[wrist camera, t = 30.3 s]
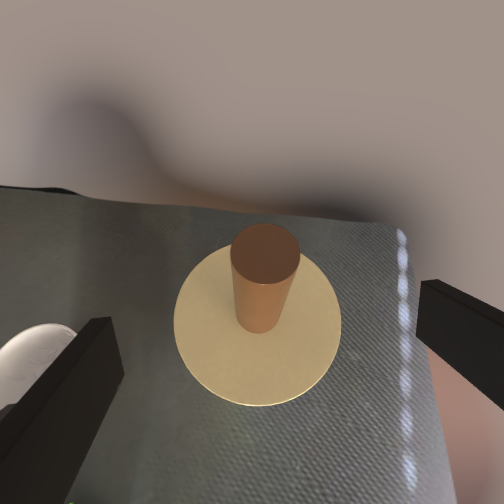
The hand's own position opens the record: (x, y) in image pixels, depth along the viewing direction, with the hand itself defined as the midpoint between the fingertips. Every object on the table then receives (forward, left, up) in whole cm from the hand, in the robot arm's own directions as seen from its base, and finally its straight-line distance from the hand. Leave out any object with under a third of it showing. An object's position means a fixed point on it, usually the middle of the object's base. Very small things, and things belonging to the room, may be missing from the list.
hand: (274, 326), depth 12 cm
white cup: (-13, -13, -24) cm, 30 cm away
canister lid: (-3, +3, -11) cm, 12 cm away
